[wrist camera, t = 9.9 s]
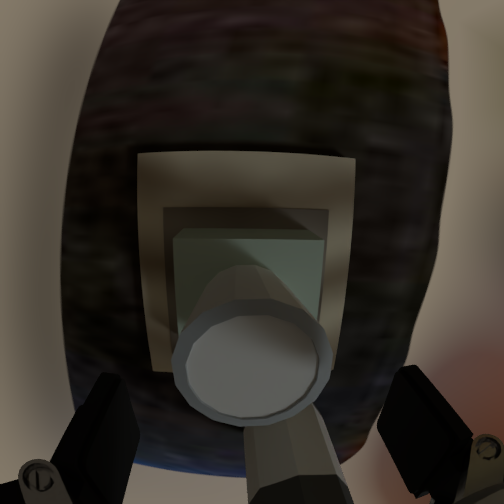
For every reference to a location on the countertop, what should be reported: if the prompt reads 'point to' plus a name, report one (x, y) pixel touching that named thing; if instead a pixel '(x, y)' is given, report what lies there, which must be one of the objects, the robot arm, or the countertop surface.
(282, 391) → the grey tapered cup
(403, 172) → the countertop surface
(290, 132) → the countertop surface
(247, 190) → the board
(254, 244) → the sage block
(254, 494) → the wine bottle
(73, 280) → the countertop surface
